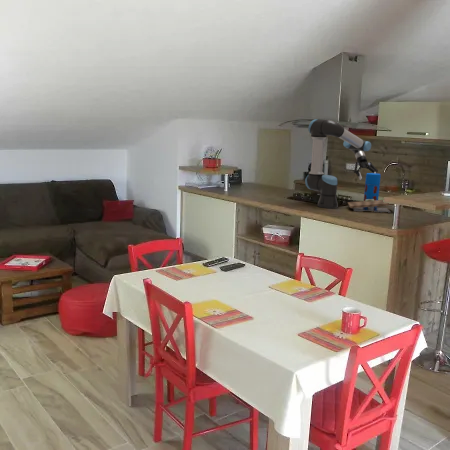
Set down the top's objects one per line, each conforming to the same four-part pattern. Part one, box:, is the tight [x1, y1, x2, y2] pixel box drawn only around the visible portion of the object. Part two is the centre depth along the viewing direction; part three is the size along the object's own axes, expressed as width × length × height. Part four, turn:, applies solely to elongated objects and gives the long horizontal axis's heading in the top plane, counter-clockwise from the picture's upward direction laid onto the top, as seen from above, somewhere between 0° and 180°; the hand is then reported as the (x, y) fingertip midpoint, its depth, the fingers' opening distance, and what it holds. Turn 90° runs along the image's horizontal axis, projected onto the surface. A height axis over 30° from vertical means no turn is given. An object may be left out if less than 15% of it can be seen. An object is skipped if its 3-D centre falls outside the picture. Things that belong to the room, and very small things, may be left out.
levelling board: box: [347, 199, 394, 209], centre depth 374 cm, size 32×16×3 cm, turn 84°
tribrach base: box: [351, 207, 392, 214], centre depth 375 cm, size 26×14×4 cm, turn 84°
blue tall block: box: [363, 172, 381, 208], centre depth 391 cm, size 11×11×25 cm
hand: (368, 179), depth 397 cm, fingers open, 13 cm apart
